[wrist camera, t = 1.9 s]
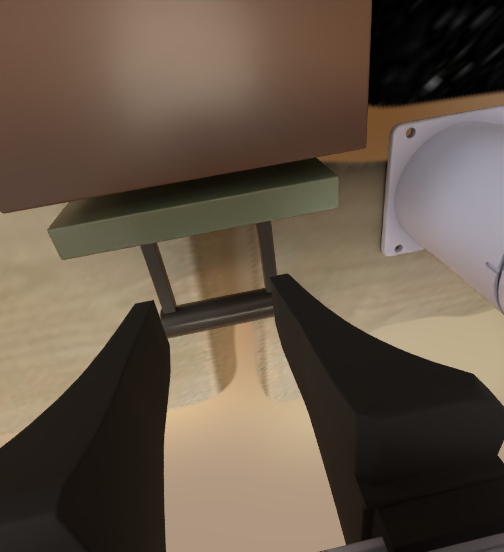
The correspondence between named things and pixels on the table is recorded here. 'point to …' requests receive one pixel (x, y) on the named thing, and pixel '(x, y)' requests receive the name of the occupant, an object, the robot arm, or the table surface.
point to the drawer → (199, 229)
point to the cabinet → (173, 91)
